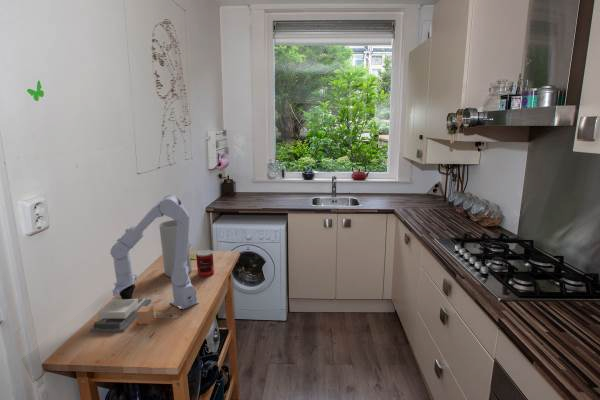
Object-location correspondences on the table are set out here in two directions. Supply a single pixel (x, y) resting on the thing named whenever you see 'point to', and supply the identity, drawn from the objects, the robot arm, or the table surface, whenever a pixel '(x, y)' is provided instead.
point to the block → (145, 314)
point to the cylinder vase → (170, 246)
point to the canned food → (205, 263)
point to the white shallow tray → (118, 309)
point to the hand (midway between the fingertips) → (128, 303)
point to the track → (119, 320)
